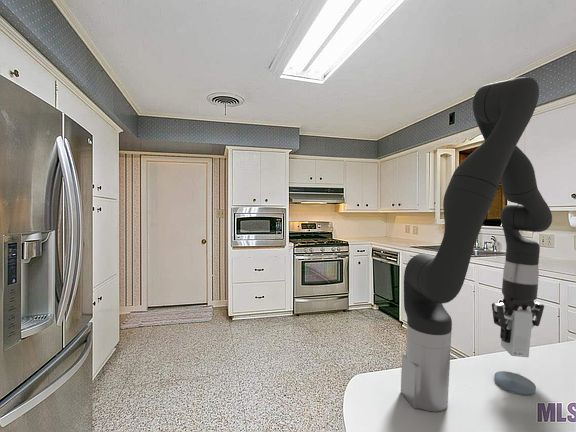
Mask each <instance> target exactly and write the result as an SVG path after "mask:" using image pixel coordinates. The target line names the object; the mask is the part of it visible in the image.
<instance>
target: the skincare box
mask: <svg viewBox="0 0 576 432" xmlns="http://www.w3.org/2000/svg"><path fill="white" fill-rule="evenodd" d="M512 315H513V316H514V318H513V322H512V327H511V329H510V330H511V338H510V343H506V342H504V341H502V340H501V339H500V346H501V347H502V348H503V349H504V350H505V351H506V352H507V353H508V354H509V355H510V356H512V357H520V358H530V347H531V346H530V345H531V338H530V336H532V329H531V323H532V313H531V312H530V311H526V310H522V311H515V310H513V313H512ZM512 315H508V317H512ZM507 322H508V320H507V321H506V324H507Z"/></svg>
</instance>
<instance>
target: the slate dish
mask: <svg viewBox="0 0 576 432" xmlns="http://www.w3.org/2000/svg"><path fill="white" fill-rule="evenodd" d="M493 377H494V378H493V381H494V382H496V383H495V384H496V385H497V386H498V387H500V388H501V389H502V390H504V391H507V392H509V393H512V394H515V395H518V396H522V397H523V396H525V397H528V396H529V397H530V396H534V395H535V394H536V391H537V387H536V386H537V385H536V384H535V383H534V382H533V381H532V380H531V379H529V378H527V377H526V376H523V375H521V374H518V373H514V372H511V371H504V370H503V371H502V370H501V371H497V372H495V373H494V375H493Z"/></svg>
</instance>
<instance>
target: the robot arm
mask: <svg viewBox="0 0 576 432" xmlns="http://www.w3.org/2000/svg"><path fill="white" fill-rule="evenodd" d="M539 96H540V87H539V83H538V81H537V80H536V79H535V78H533V77H531V76H530V77H528V76H523V77H522V76H521V77H514V78H510V79H506V80H500V81H496V82H491V83H487V84H484V85H482V86H480V88H478V89H477V91H476V92H475V94H474V96H473V100H472V111H473V116H474V119H475V121H476V124H477V126H478V128H479V129H478V130H479V131H480V133H481V135H482V138H483V140H484V142H482V143H481V144H480V145H479V146H478V147H477V148H476V149H475V150H473V151H472V153H470V154H469V155H468V156H467V157H466V158H465V159H464V160H462V161H461V163H460V164H459V165H458V166H457V167H456V168H455V170H454V171H453V172H452V173H453V174H452V176H451V178H450V180H449V183H448V185H447V188H446V190H445V193H444V196H443V203H442V209H443V211H442V212H443V218H444V219H443V220H444V221H443V222H444V232H443V237H442V240H441V243H440V245H439V248H438V251H437V252H436V255H435V256H434V255H431V254H428V253H427V254H426V253H420V254H419V253H418V254H416V255H414V256H412V257H411V258H410V259H409V260H408V262H407V263H406V266H405V267H404V268H405V269H404V274H403V307H404V312H405V314H406V319H407V320H406V323H407V324H406V339H405V340H406V342H405V352H404V353H403V352H402V354H401V371H400V372H401V375H400V377H401V378H400V393H401V394H402V395H403V396H404V398H405V399H406V400H407V402H408V403H409V404H410V405H411V406H412V408H413V409H420V410H424V411H426V412H427V411H428V412H435V413H436V412H441V411H444V410H445V409H447V407H448V405H449V389H450V369H451V368H450V367H451V364H450V363H451V351H452V350H451V346H452V345H451V344H452V329H453V328H452V326H453V321H452V317H451V315H450V314H449V313H448V311H447V310H446V309H445V307H444V305H443V304H447V303H450V302H451V301H453V300H454V299H455V298H456V297H457V296H458V295H459V293H460V292H461V290H462V287H463V285H464V282H465V279H466V276H467V273H468V269H469V265H470V262H471V260H472V259H471V258H472V255H473V252H474V248H475V246H476V242H477V239H478V237H479V234H480V232H481V229H482V227H483V224H484V222H485V219H486V216H487V214H488V212H489V210H490V207H491V206H492V203H493V200H494V198H495V196H496V194H497V192H498V191H497V190H498V189H499V186H500V185H501V190H502V194H503V195H502V196H503V197H504V199H505V200H506V201H507V202H510V203H507V205H505V206H504V207H503V208H502V210H501V212H500V223H501V227H502V229H503V230H502V231H503V234H504V239H505V243H506V244H505V245H506V247H505V248H506V249H505V260H504V266H503V273H502V274H503V275H502V284H501V285H502V287H501V293H502V295H503V299H502V300H501V302H500V303H495V302H493V303H492V304H491V311H492V318H493V324H494V325H497V326H499V327H500V334H499V338H500V341H501V340H502V341H504V342H506V343H510V338H511V330H510V329H511V327H512V322H513V318H514V316H513V315H512V313H513V310H515V311H522V310H526V311H530V312H531V313H532V323H531V330H532V329H533V328H534V327H539V326H540V324H541V320H542V317H543V313H544V308H545V305H544V304H542V303H540V302H536V300H537V298H538V289H539V276H540V270H539V263H540V251H541V248H540V244H539V243H538V242H537V241H535V240H531V239H527V238H525V237H523V236H522V235H521V232H522V231H525V232H531V233H532V232H534V233H541V232H545V231H546V230H548V229H549V228H550V227H551V225H552V222H553V214H552V211H551V208H550V206H549V205H548V203H547V202H546V200H545V199H544V197H543V196H542V193H541V191H540V190H539V188H538V183H537V178H536V172H535V168H534V165H533V164H532V162H531V160H530V159H529V157H528V156H527V155H526V154H525V153H524V151H522V150H521V149H520V148H519V147H518V142H519V141H520V140H521V137H522V135H524V132H525V131H526V128H527V126H528V125H529V122H531V121H530V120H531V119H532V117H533V115H534V112H535V110H536V109H537V105H538V101H539ZM520 231H521V232H520ZM508 315H512V317H508ZM507 320H508V322H507V324H506V321H507ZM531 336H532V335H531ZM531 336H530V339H531V338H532V337H531Z"/></svg>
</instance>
